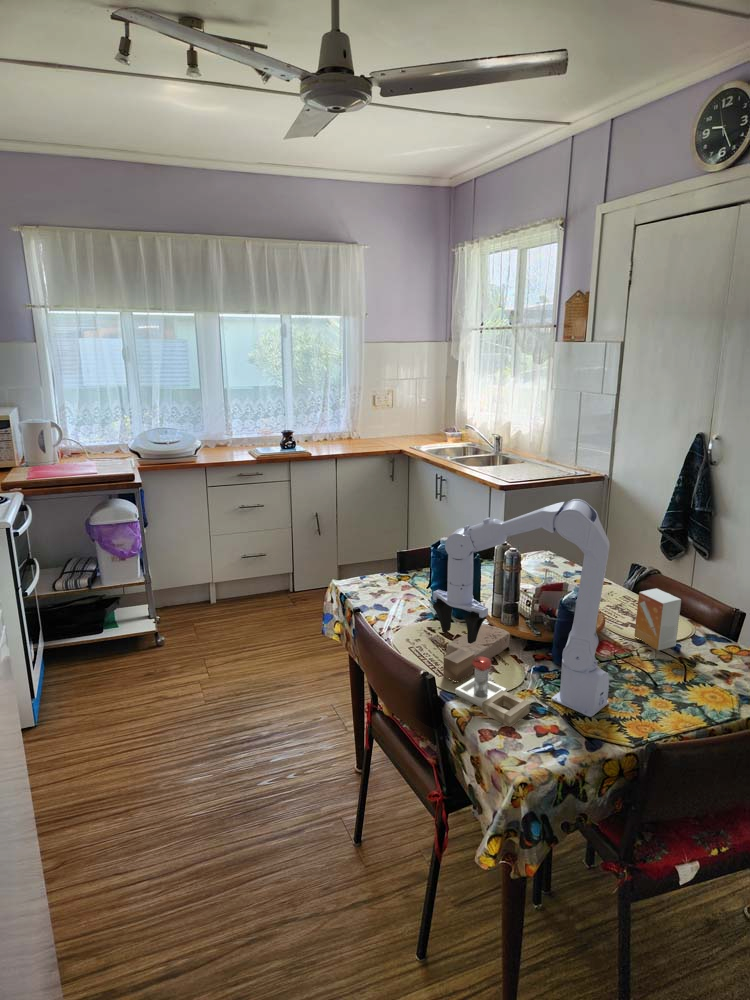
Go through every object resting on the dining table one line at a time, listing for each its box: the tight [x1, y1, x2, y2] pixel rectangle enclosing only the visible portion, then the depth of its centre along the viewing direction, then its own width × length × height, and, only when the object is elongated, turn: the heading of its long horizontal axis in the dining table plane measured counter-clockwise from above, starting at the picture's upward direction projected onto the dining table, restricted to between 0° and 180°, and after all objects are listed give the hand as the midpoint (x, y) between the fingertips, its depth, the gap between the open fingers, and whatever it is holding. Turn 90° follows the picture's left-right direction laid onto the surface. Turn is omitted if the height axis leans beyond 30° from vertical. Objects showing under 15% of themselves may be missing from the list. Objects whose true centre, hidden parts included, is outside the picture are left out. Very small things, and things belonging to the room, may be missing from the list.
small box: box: [634, 588, 682, 652], centre depth 164 cm, size 8×6×13 cm
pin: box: [473, 657, 492, 698], centre depth 141 cm, size 4×4×8 cm
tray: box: [454, 677, 508, 709], centre depth 142 cm, size 8×8×2 cm
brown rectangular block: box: [442, 649, 474, 683], centre depth 150 cm, size 4×6×5 cm, turn 133°
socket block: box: [481, 690, 531, 728], centre depth 135 cm, size 7×7×2 cm
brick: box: [445, 623, 511, 670], centre depth 160 cm, size 17×8×5 cm, turn 135°
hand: (458, 636), depth 148 cm, fingers open, 7 cm apart
